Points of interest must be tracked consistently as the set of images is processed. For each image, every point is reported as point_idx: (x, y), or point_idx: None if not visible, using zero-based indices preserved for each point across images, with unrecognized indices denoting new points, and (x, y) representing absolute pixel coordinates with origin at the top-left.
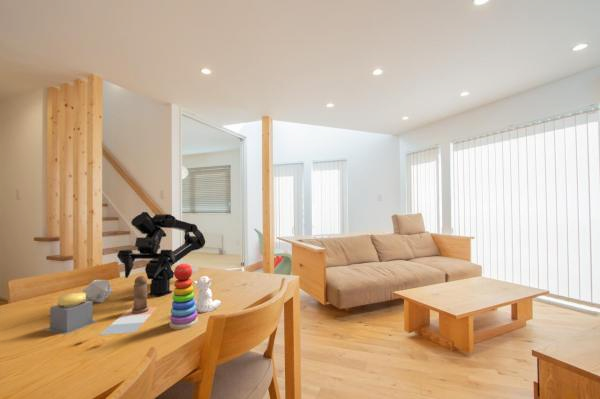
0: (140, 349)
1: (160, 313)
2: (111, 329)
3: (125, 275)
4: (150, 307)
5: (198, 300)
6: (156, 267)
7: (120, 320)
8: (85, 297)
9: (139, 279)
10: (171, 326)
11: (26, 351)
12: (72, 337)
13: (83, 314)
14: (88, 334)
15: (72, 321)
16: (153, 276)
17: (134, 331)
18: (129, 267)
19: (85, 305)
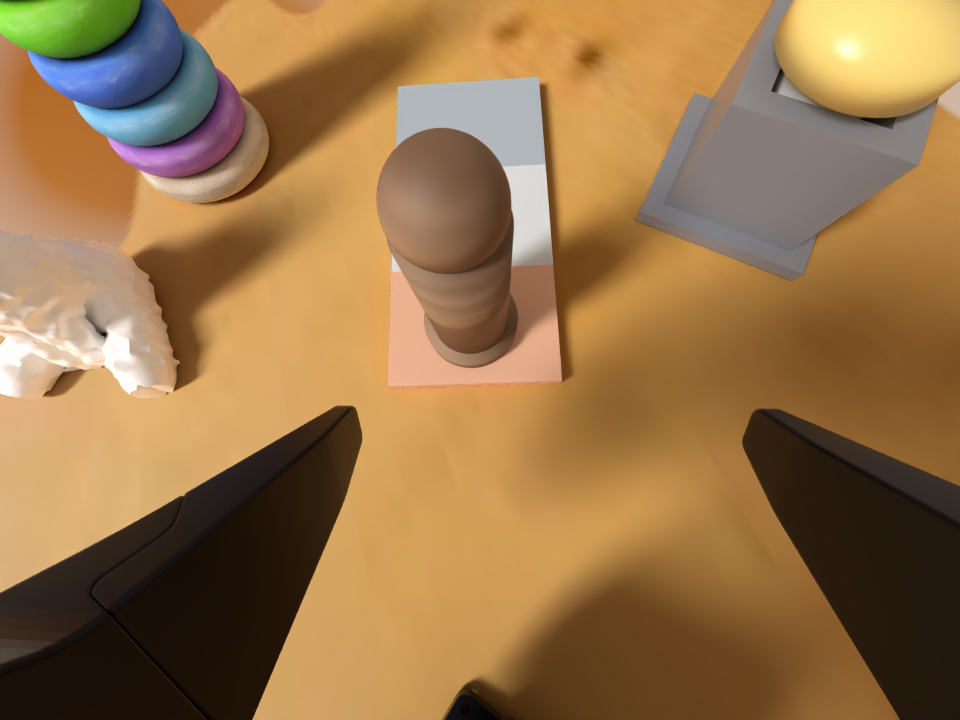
0: (341, 7)
1: (357, 317)
2: (512, 116)
3: (786, 412)
4: (431, 380)
5: (72, 253)
6: (236, 493)
7: (523, 207)
8: (801, 44)
9: (433, 128)
10: (250, 104)
11: (744, 22)
12: (654, 103)
13: (712, 117)
14: (603, 121)
15: (721, 90)
16: (348, 406)
17: (401, 92)
18: (951, 616)
19: (741, 77)
